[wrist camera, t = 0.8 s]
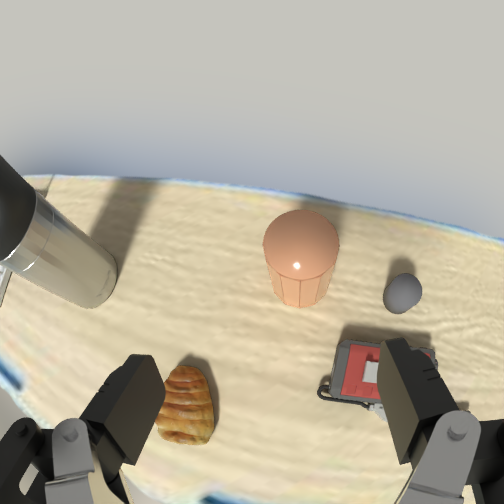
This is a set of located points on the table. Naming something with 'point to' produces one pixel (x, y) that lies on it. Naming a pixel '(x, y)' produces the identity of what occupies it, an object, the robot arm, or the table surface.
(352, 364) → the walkie-talkie
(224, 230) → the table surface
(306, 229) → the cup
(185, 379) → the pastry
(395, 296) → the gray rounded pebble
